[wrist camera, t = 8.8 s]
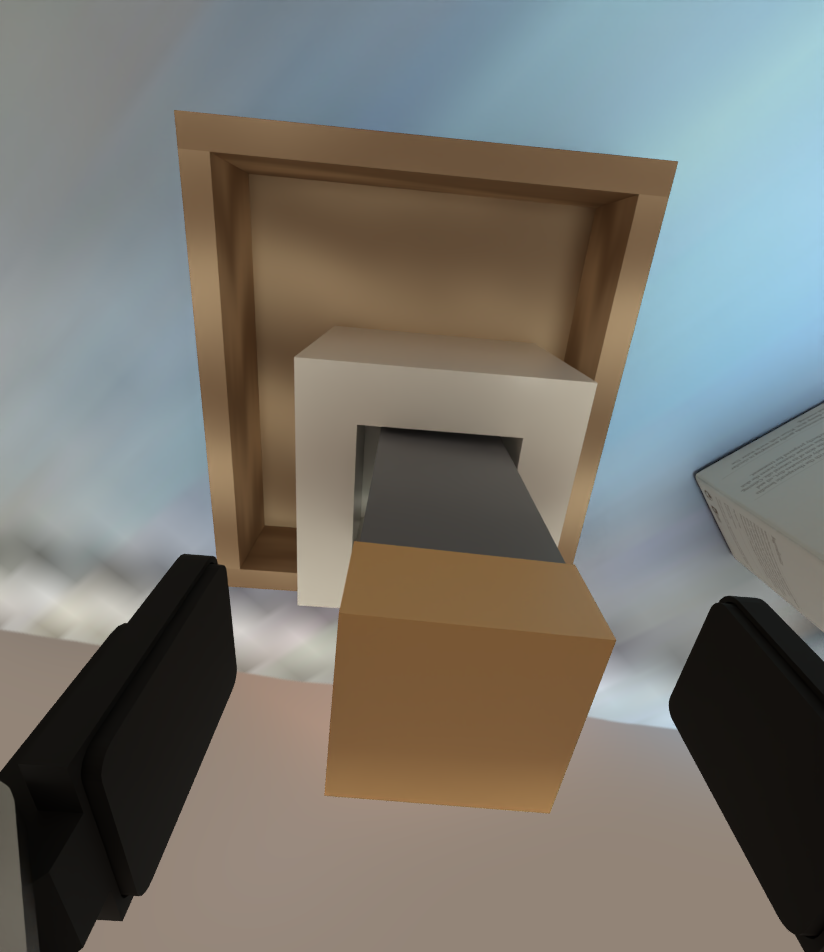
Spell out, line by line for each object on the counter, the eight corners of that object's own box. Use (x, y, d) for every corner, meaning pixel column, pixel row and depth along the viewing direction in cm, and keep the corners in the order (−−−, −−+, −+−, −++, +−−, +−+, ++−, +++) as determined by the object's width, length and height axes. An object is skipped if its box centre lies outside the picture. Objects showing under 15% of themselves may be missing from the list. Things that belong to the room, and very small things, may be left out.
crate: (226, 144, 19) (174, 110, 15) (620, 184, 20) (678, 161, 15) (250, 534, 26) (219, 585, 22) (537, 554, 27) (560, 608, 23)
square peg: (383, 401, 18) (339, 612, 7) (492, 414, 18) (615, 640, 7) (373, 499, 20) (324, 795, 9) (473, 511, 20) (549, 813, 9)
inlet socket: (334, 325, 21) (294, 357, 14) (534, 343, 22) (597, 383, 14) (331, 505, 25) (297, 605, 17) (502, 518, 25) (539, 621, 18)
